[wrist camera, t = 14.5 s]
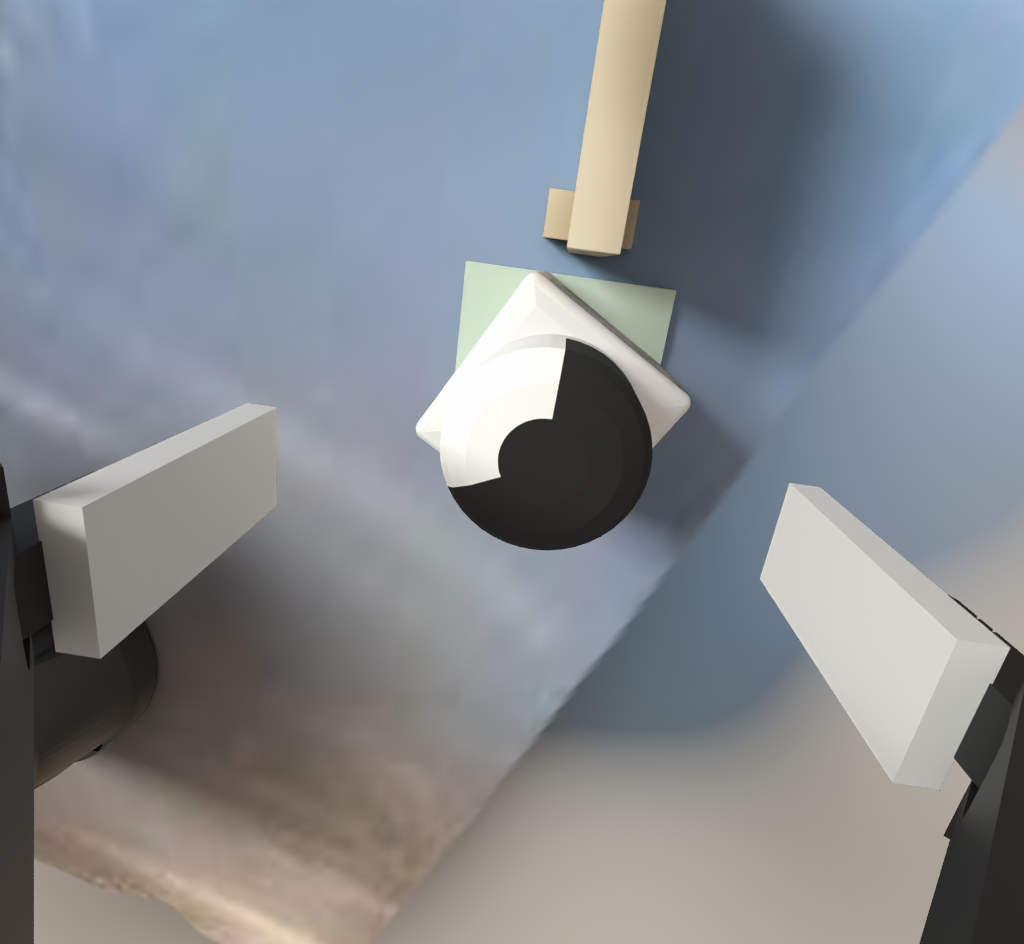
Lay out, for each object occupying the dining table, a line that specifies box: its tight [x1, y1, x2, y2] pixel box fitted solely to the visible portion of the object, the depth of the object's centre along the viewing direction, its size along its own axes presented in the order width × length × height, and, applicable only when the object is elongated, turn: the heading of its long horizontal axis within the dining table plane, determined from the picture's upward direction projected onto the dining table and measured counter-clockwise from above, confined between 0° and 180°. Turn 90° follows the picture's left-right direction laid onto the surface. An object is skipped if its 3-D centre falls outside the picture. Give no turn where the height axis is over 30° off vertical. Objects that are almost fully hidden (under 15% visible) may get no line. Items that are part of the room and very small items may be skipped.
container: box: [416, 270, 691, 550], centre depth 24 cm, size 8×8×13 cm
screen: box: [543, 0, 666, 257], centre depth 21 cm, size 4×14×11 cm, turn 172°
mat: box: [455, 261, 676, 372], centre depth 30 cm, size 10×10×1 cm
